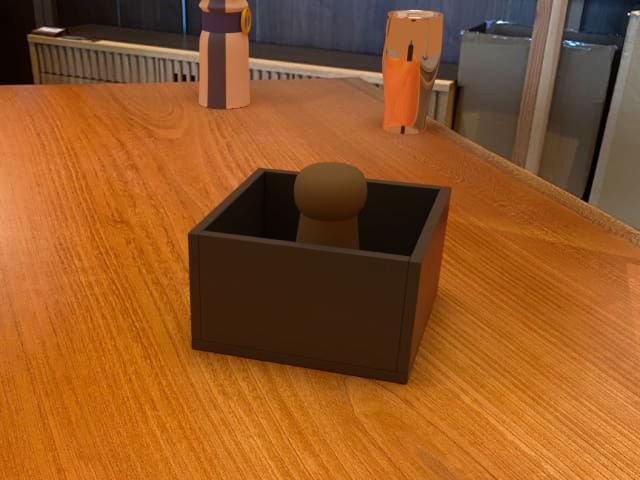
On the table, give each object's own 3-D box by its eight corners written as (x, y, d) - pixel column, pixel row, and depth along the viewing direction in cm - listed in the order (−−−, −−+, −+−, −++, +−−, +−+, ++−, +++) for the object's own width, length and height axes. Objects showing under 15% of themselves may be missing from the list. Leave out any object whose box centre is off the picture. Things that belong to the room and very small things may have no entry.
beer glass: (437, 138, 109) (453, 12, 101) (418, 151, 104) (433, 19, 96) (387, 131, 112) (398, 8, 104) (366, 143, 107) (376, 15, 99)
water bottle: (260, 98, 128) (262, -92, 115) (243, 111, 121) (244, -90, 108) (209, 94, 130) (206, -93, 117) (190, 106, 123) (184, -90, 110)
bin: (437, 291, 69) (452, 186, 64) (406, 384, 56) (421, 262, 52) (257, 267, 73) (258, 167, 69) (191, 348, 61) (187, 232, 56)
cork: (276, 321, 63) (280, 175, 57) (292, 288, 68) (297, 151, 62) (357, 330, 61) (370, 182, 56) (367, 296, 66) (379, 157, 60)
